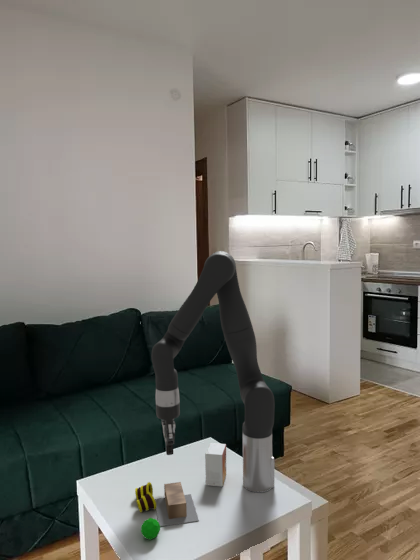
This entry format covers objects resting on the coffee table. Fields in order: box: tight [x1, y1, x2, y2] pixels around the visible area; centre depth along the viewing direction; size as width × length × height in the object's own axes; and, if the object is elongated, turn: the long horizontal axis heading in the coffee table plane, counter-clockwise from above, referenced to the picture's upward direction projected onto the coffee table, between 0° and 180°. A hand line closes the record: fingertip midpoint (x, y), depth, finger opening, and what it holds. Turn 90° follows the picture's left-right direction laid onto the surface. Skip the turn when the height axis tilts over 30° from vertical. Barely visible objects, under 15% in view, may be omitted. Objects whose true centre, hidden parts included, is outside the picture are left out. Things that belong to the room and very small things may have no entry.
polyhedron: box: [140, 517, 161, 540], centre depth 115 cm, size 5×5×5 cm
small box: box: [204, 442, 227, 487], centre depth 142 cm, size 8×6×10 cm
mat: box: [154, 493, 200, 528], centre depth 127 cm, size 11×13×1 cm
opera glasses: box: [134, 481, 156, 513], centre depth 130 cm, size 10×5×5 cm, turn 14°
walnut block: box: [163, 481, 187, 519], centre depth 128 cm, size 5×4×11 cm
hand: (169, 453), depth 141 cm, fingers closed
